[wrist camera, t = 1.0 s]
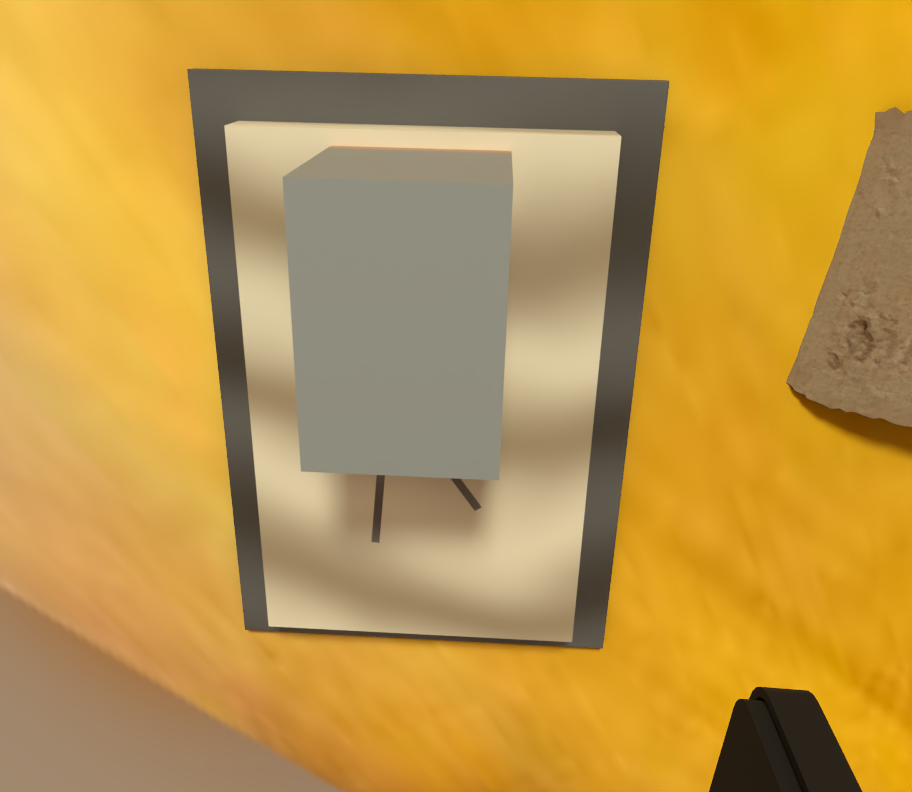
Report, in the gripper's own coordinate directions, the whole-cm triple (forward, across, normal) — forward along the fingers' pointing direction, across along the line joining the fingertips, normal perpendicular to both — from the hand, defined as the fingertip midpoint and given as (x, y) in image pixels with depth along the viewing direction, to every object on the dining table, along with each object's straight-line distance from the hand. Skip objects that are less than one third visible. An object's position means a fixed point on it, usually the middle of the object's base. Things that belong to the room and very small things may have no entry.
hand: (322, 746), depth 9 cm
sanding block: (+19, 0, 0) cm, 19 cm away
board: (+21, 0, +5) cm, 22 cm away
